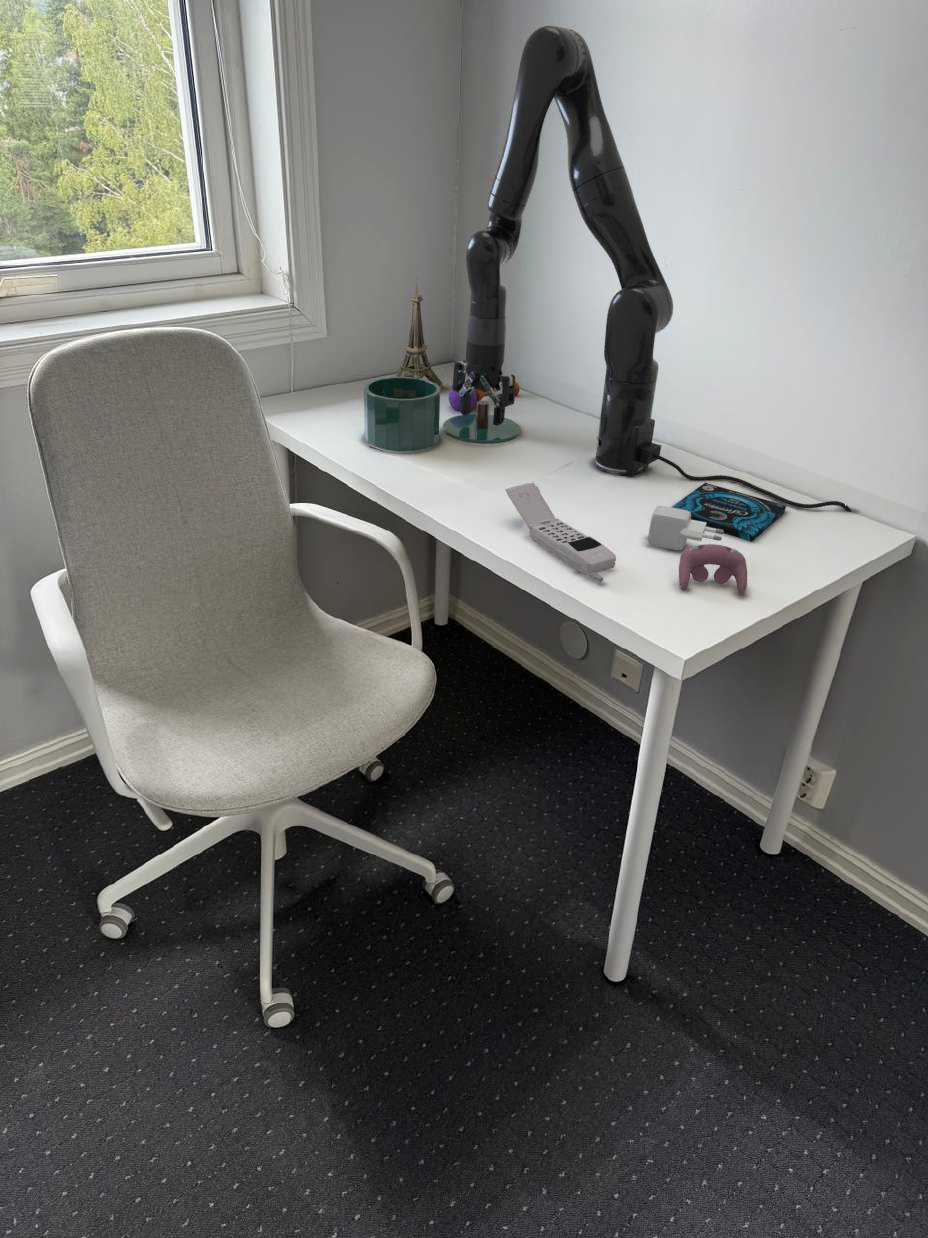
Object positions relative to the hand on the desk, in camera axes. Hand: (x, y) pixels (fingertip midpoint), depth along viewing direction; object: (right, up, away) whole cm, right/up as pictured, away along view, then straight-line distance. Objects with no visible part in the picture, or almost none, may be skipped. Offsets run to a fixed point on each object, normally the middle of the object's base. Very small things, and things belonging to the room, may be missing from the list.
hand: (481, 419), depth 185 cm
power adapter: (+31, -29, -40) cm, 59 cm away
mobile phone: (+11, -30, -42) cm, 53 cm away
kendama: (+1, +7, +17) cm, 18 cm away
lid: (0, -2, +1) cm, 2 cm away
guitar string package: (+42, -23, -28) cm, 55 cm away
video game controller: (+33, -36, -50) cm, 70 cm away
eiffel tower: (-15, +11, +23) cm, 30 cm away
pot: (-16, -5, -4) cm, 17 cm away
